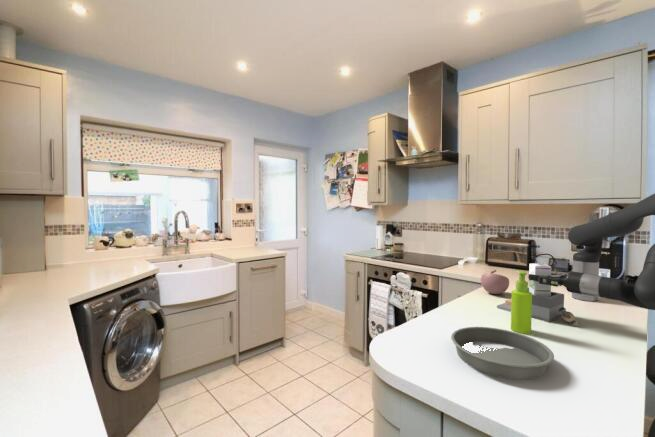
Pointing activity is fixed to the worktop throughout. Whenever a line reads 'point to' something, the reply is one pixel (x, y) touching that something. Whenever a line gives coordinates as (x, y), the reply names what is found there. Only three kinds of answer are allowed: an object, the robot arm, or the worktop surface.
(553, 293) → the socket
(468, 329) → the cake pan
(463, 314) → the worktop surface
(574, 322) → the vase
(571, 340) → the worktop surface
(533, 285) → the syrup box
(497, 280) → the pink apple
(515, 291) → the soap dispenser
